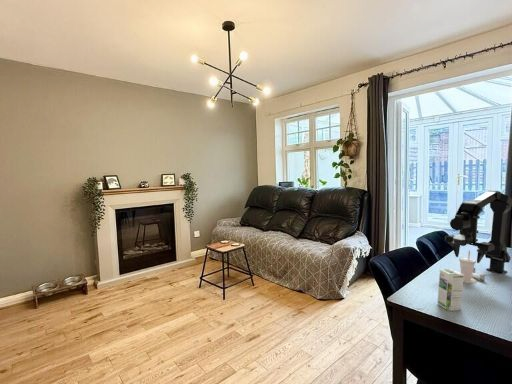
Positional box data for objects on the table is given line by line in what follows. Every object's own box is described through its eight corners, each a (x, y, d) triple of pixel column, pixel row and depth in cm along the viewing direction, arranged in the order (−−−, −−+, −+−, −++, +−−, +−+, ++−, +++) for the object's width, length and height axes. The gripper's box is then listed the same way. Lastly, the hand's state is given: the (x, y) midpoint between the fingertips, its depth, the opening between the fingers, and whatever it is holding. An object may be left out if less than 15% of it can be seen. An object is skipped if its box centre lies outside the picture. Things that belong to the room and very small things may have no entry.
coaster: (462, 275, 138) (462, 274, 138) (480, 281, 131) (480, 280, 131) (452, 278, 135) (452, 277, 135) (470, 284, 128) (470, 283, 128)
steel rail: (471, 272, 141) (472, 267, 141) (492, 279, 133) (492, 273, 133) (463, 275, 138) (463, 269, 138) (483, 281, 130) (483, 275, 130)
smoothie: (477, 282, 129) (479, 253, 128) (462, 280, 130) (463, 252, 129) (470, 276, 135) (471, 249, 134) (455, 275, 137) (457, 248, 135)
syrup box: (436, 303, 110) (438, 269, 109) (450, 303, 111) (452, 268, 109) (447, 311, 105) (450, 274, 103) (462, 310, 105) (464, 274, 104)
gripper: (438, 225, 136) (436, 256, 137) (481, 234, 119) (479, 269, 120) (452, 223, 140) (451, 253, 142) (496, 231, 123) (493, 265, 125)
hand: (467, 259), depth 132 cm, fingers open, 9 cm apart
